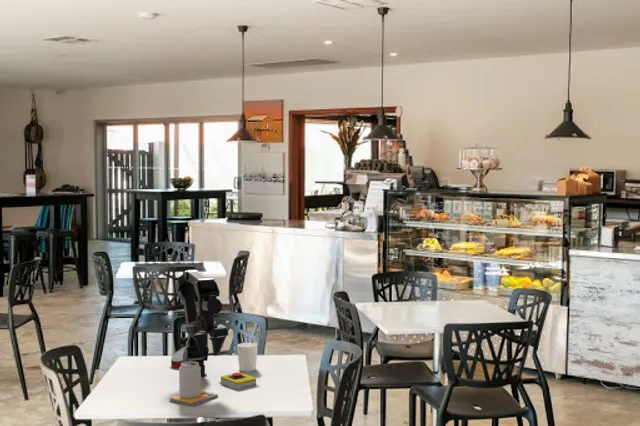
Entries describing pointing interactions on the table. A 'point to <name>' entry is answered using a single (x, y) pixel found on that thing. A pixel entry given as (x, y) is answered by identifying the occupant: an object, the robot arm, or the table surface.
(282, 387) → the table surface
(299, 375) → the table surface
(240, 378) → the emergency button
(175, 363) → the grey red slanted block
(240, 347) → the white cup
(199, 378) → the can
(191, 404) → the indicator board
